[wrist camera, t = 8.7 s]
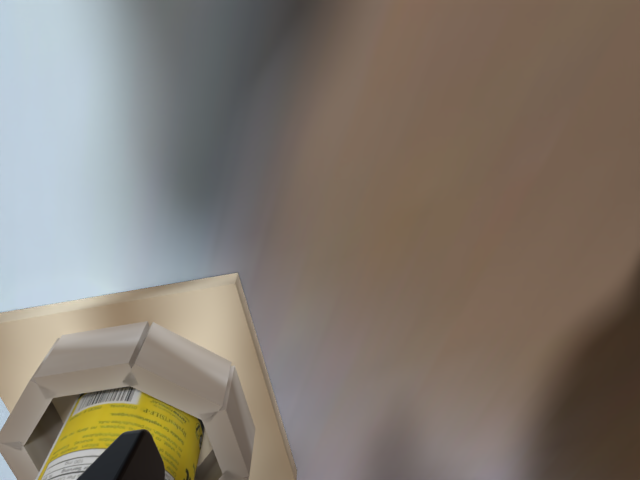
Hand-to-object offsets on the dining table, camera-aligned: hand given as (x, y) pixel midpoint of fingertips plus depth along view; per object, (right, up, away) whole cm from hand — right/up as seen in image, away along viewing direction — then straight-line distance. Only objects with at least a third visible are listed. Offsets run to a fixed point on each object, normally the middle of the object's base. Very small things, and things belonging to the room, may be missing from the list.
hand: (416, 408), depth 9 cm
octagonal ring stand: (-9, -4, +16) cm, 19 cm away
